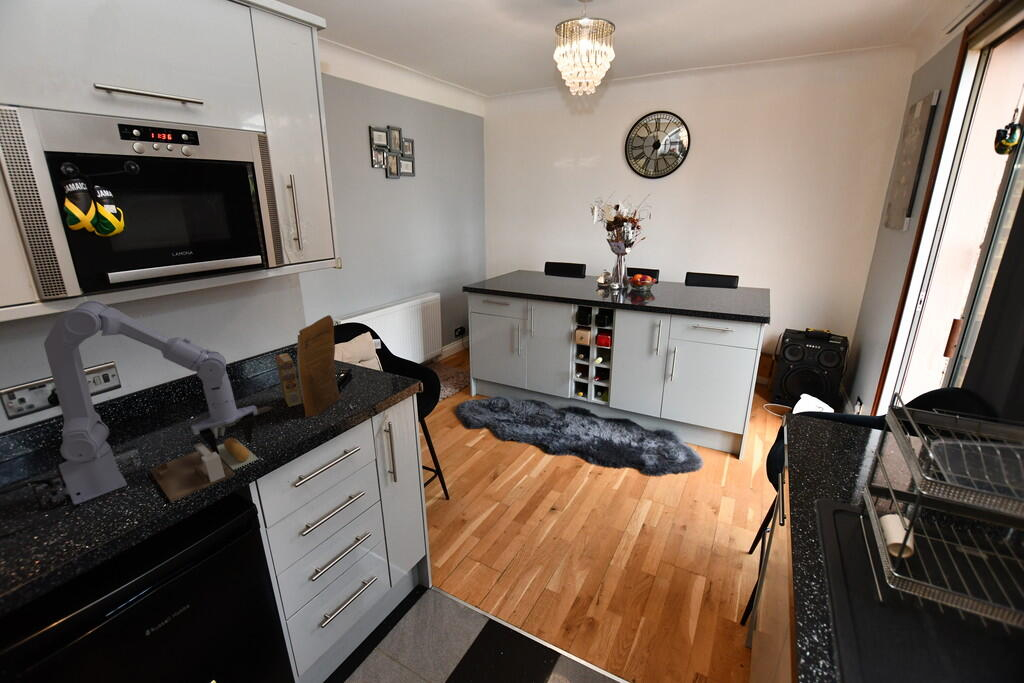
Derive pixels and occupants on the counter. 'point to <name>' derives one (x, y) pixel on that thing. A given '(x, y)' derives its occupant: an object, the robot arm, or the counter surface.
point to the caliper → (222, 427)
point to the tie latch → (211, 463)
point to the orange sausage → (236, 449)
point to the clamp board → (185, 476)
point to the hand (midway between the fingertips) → (233, 448)
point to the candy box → (288, 379)
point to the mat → (234, 458)
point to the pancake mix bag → (317, 366)
